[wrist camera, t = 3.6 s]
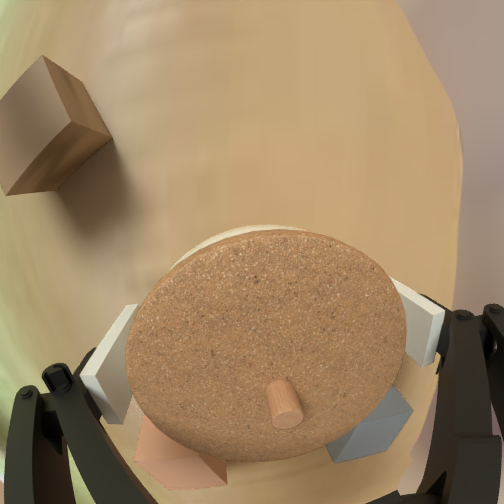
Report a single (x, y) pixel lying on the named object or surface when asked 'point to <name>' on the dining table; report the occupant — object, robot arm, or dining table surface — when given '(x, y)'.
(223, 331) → the lidded jar
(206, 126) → the dining table surface
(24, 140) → the cube walnut
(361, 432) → the cube slate
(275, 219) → the dining table surface
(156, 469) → the cube terracotta
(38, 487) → the robot arm
